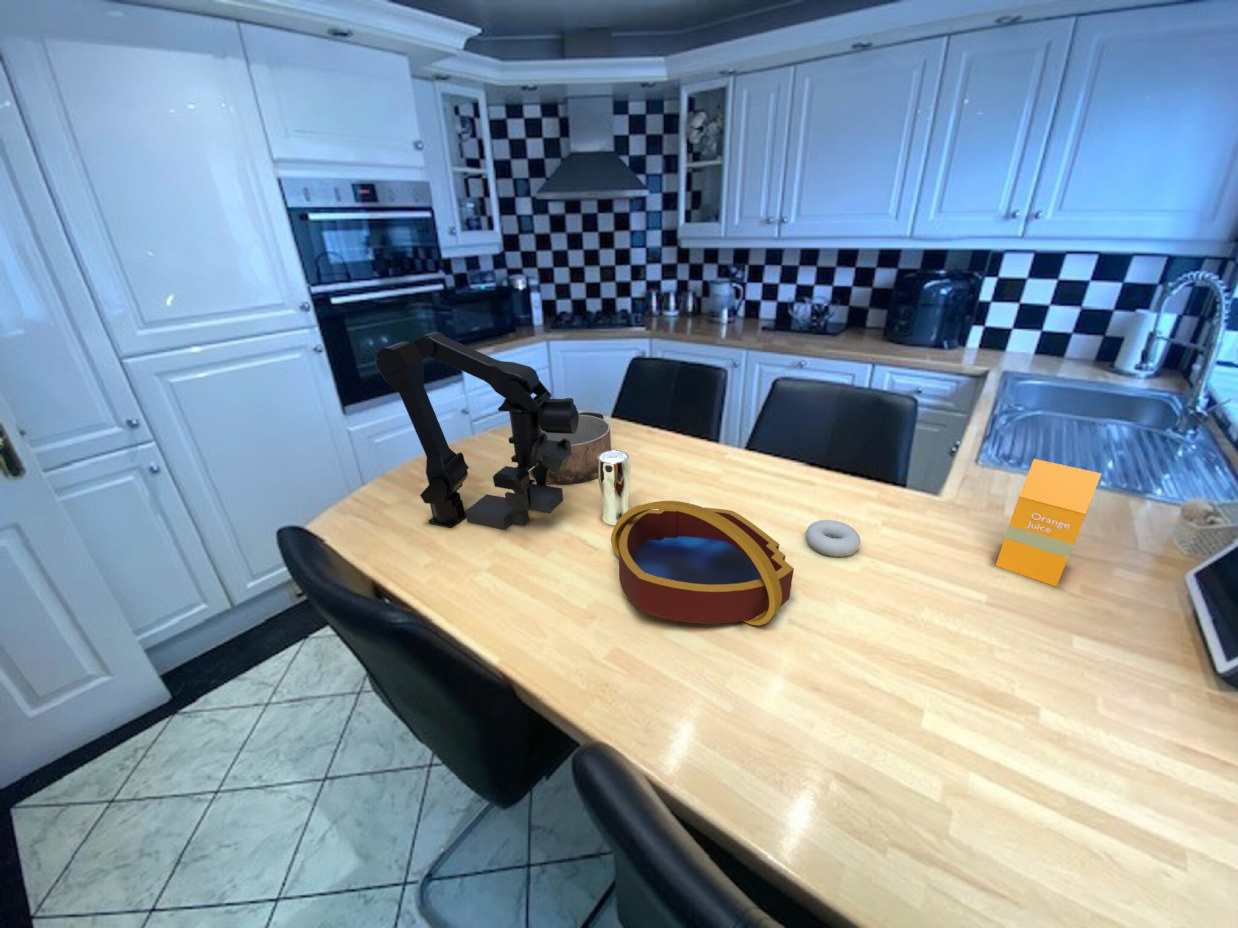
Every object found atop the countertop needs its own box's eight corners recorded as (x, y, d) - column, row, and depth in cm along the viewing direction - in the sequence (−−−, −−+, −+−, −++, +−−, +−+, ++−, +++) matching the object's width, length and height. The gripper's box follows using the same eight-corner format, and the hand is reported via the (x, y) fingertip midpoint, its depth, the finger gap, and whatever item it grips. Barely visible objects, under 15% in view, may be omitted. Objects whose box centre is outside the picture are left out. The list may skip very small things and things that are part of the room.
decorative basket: (815, 597, 89) (831, 520, 84) (719, 675, 69) (733, 580, 64) (668, 530, 111) (674, 465, 107) (564, 574, 92) (566, 497, 87)
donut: (858, 565, 93) (860, 536, 101) (861, 550, 92) (862, 521, 100) (801, 553, 97) (807, 526, 105) (803, 538, 96) (809, 512, 104)
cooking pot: (579, 498, 120) (575, 457, 116) (503, 483, 129) (497, 444, 125) (630, 450, 144) (629, 415, 140) (563, 440, 153) (560, 406, 149)
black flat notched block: (506, 506, 107) (504, 493, 106) (521, 493, 112) (519, 481, 111) (549, 514, 104) (548, 501, 102) (563, 500, 109) (562, 488, 107)
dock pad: (467, 522, 113) (465, 510, 111) (488, 505, 119) (486, 494, 118) (516, 532, 108) (514, 520, 107) (535, 513, 115) (534, 502, 113)
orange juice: (1005, 547, 96) (1037, 451, 88) (1064, 566, 90) (1105, 465, 82) (994, 565, 91) (1028, 466, 83) (1056, 587, 85) (1099, 482, 77)
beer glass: (629, 527, 108) (626, 464, 101) (597, 525, 109) (592, 462, 103) (634, 511, 114) (632, 450, 107) (604, 509, 115) (600, 449, 109)
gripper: (538, 454, 90) (546, 528, 97) (583, 419, 106) (588, 485, 112) (485, 447, 94) (497, 519, 101) (536, 414, 110) (544, 478, 116)
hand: (535, 499), depth 107 cm, fingers closed on black flat notched block, 6 cm apart
